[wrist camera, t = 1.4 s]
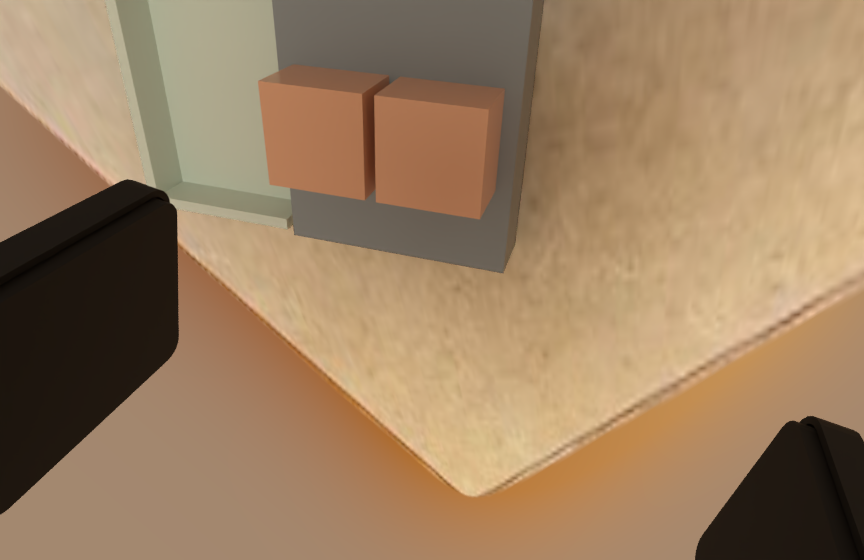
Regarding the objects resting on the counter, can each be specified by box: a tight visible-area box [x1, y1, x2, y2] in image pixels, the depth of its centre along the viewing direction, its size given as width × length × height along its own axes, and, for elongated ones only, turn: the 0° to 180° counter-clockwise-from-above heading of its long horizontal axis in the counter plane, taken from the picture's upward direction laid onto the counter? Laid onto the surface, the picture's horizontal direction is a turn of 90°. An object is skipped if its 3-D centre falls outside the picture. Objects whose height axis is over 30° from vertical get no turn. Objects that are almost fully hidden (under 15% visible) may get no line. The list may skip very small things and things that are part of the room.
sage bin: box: [105, 0, 293, 229], centre depth 31 cm, size 8×13×3 cm, turn 177°
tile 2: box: [374, 77, 505, 219], centre depth 26 cm, size 4×4×3 cm
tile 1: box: [258, 64, 389, 200], centre depth 27 cm, size 4×4×3 cm
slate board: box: [272, 0, 544, 273], centre depth 29 cm, size 11×13×3 cm
